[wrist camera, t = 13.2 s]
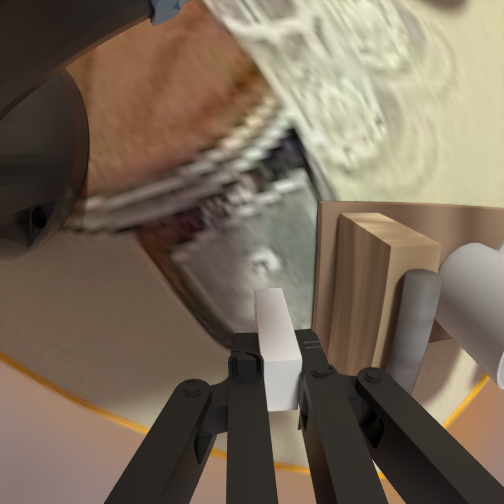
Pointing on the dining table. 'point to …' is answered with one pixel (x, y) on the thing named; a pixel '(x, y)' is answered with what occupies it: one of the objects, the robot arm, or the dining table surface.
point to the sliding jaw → (383, 297)
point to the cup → (475, 304)
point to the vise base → (413, 216)
